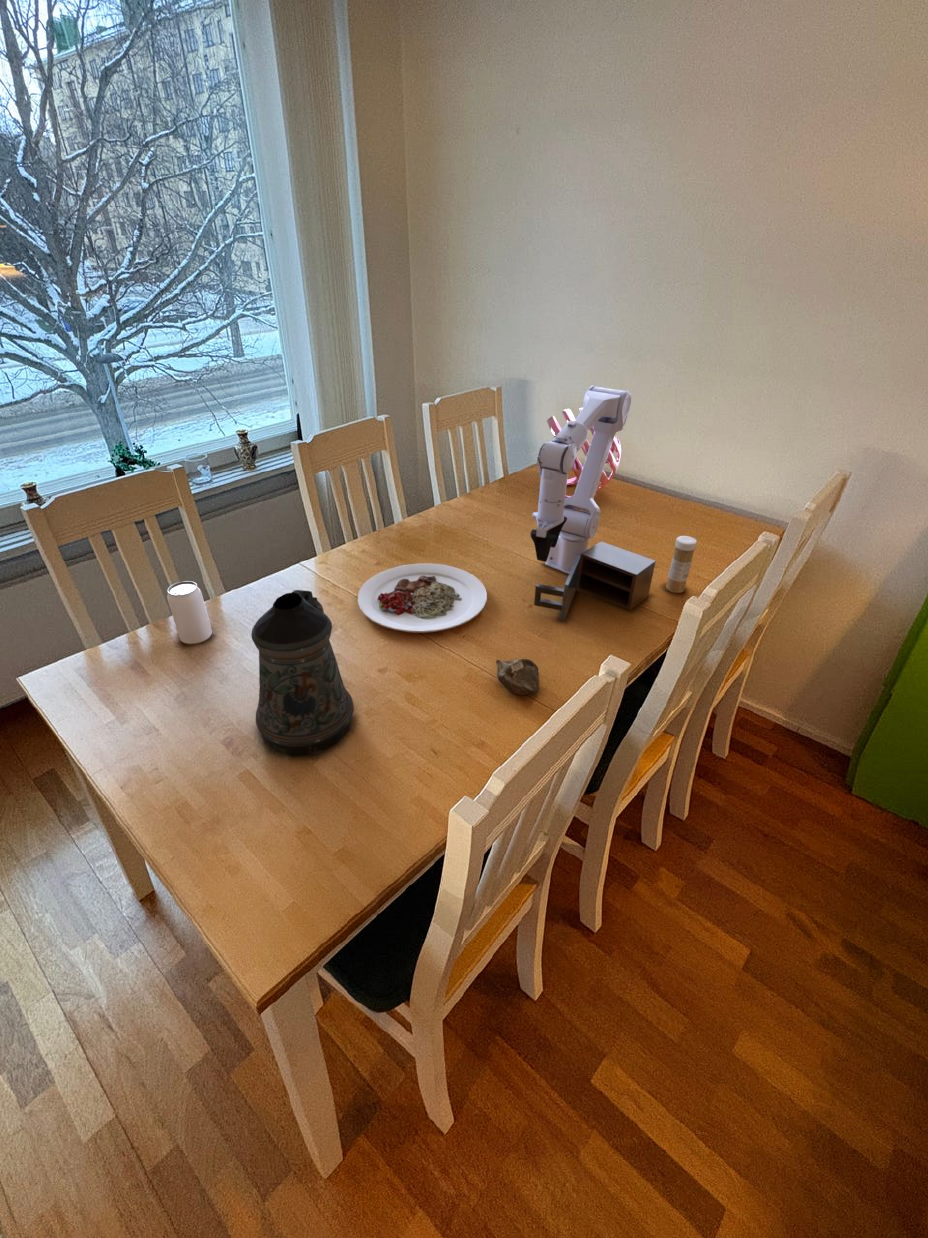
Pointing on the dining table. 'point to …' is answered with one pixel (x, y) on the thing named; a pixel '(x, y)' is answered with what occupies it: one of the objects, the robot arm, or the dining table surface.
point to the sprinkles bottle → (681, 564)
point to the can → (189, 612)
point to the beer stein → (299, 678)
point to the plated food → (422, 597)
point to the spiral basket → (585, 447)
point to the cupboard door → (559, 592)
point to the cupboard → (615, 575)
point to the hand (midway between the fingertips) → (546, 553)
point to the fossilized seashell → (519, 676)
